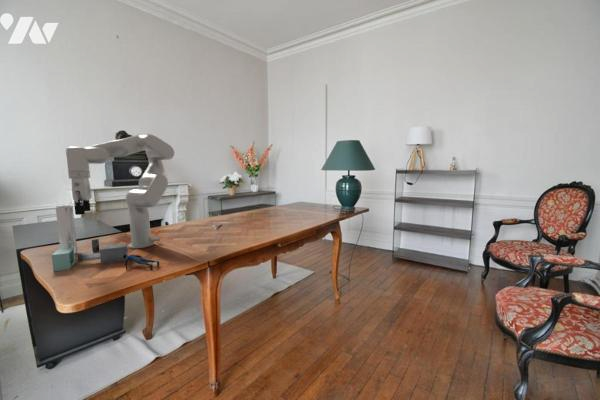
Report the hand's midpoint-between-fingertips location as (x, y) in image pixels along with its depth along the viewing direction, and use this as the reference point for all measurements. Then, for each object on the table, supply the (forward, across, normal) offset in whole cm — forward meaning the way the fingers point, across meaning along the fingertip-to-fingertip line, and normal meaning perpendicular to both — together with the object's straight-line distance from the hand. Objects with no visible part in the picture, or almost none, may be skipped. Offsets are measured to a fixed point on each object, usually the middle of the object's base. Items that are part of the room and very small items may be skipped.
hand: (83, 212), depth 126 cm
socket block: (+23, -3, +8) cm, 25 cm away
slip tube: (+22, -3, -6) cm, 23 cm away
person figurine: (+24, -16, -23) cm, 37 cm away
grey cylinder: (+24, +18, +12) cm, 32 cm away
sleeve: (+23, -3, -11) cm, 26 cm away
